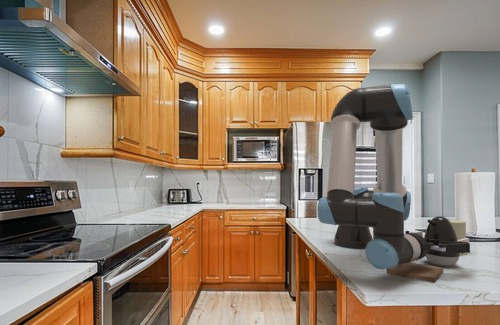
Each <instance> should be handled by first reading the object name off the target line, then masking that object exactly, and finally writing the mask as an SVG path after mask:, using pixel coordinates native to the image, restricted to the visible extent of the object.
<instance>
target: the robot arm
mask: <svg viewBox="0 0 500 325" xmlns="http://www.w3.org/2000/svg"><path fill="white" fill-rule="evenodd" d="M413 116H414V115H413V107H412V101H411V94H410V88H409V86H408V85H407V84H406V83H394V84H393V83H389V84H383V85H376V86H369V87H358V88H355V89H352V90H351V91H348V92H347V93H346V94H344V96H342V97H341V98H340V100H339V101H337V103H336V105H335V107H334V109H333V111H332V113H331V117H330V128H331V129H332V134H331V135H332V137H331V145H330V146H331V147H330V159H329V168H328V177H327V178H328V180H327V189H326V190H327V191H326V197H321V198H320V197H319V199H318V203H317V207H316V208H317V218H318V220H319V222H320V223H321V224H325V225H330V226H331V225H332V226H337V228H336V232H335V235H334V237H333V238H334V239H333V240H334V242H333V243H334V244H335V245H337V246H340V247H342V248H343V247H344V248H350V249H365V251H364V252H365V257H366V259H367V261H368V263H369V264H370V265H371V266H373V267H374V268H376V269H379V270H385V269H386V270H387V268H394V267H396V266H398V265H401V264H403V265H404V264H405V263H408V262H415V261H418V260H419V261H420V260H421V259H425V258H426V257H425V256H426V255H427V253H429V252H439V254H447V253H462V254H464V253H467V254H470V253H471V244H470V238H469V237H466V238H464V239H460V240H457V242H455V241H438V240H436V239H427V238H424V236H423V230H422V231H421V230H419V231H413V232H410V230H405V221H407V220H408V219H409V217H410V213H411V203H412V195H411V194H412V193H411V192H410V191H409V190H408V191H407V187H406V186H405V185H404V184H403V130H404V129H405V128H406V127H407V126H408V123H409V122H408V121H410V120H412V119H413V118H414V117H413ZM361 123H369V126H370V128H371V129H372V130H373V131H374V136H375V138H374V139H375V159H376V160H375V161H376V162H375V163H376V184H375V185H374V187H373V188H372V189H373V190H369V187H368V186H362V187H355V179H356V157H357V156H356V153H357V135H358V134H357V133H358V130H359V129H360V128H361ZM370 228H372V233H371V230H370ZM432 242H434V244H433V243H432Z"/></svg>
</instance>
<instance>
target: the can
mask: <svg viewBox="0 0 500 325" xmlns="http://www.w3.org/2000/svg"><path fill="white" fill-rule="evenodd" d="M447 219H448V220H449V221H450V223H451V224H452V226H453V228H454V230H455V232H456V235H457V238H458V240H460V239H464V238H467V233H466V232H467V221H466V220H459V219H452V218H447ZM467 254H468V253H464V254H462V253H461V255H460V256H464V255H467Z"/></svg>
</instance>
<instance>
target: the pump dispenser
mask: <svg viewBox="0 0 500 325" xmlns="http://www.w3.org/2000/svg"><path fill="white" fill-rule="evenodd" d="M448 219H449V218H446V217H445V216H442V215H441V216H439V215H438V216H435V217H433V218H432V219H427V223H428V224H427V226H426V230H425V233H424V236H423V238H427V239H436V240H438V241H455V242H457V240H458V238H457V235H456V232H455V230H454V228H453V226H452V224H451V223H450V221H449V220H448ZM432 243H433V244H434V242H432ZM460 256H462V255H461V253H447V254H439V252H429V253H427V255H426V256H425V257H424V258H426V259H427V261H428V262H429V263H431V264H433V265H434V266H437V267H452V266H454V265H456V264H457V263H458V261H459V258H460Z"/></svg>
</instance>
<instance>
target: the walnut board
mask: <svg viewBox="0 0 500 325" xmlns="http://www.w3.org/2000/svg"><path fill="white" fill-rule="evenodd" d="M386 273H387V274H391V275H395V276H400V277H404V278H410V279H415V280H419V281H424V282H429V283H433V284H435V283H436V282H437V281H438V280H439V278H440V277H441V276H442V275H443V273H444V267H442V266H436V265H429V264H422V263H417V262H413V261H411V262H408V263H405V264H404V265H403V264H401V265H398V266H396V267H394V268H387V269H386Z"/></svg>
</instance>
